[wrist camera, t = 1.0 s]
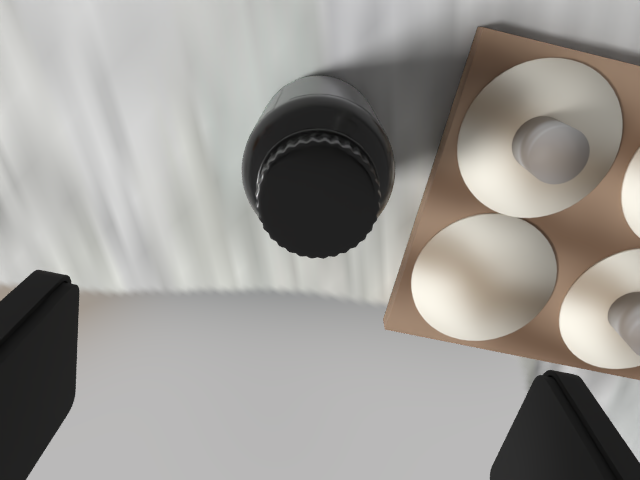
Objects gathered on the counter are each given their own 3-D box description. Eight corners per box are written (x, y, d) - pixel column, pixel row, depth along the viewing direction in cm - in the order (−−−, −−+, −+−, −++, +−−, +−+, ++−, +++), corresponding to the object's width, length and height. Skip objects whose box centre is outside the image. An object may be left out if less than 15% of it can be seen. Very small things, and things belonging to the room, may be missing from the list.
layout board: (477, 26, 28) (501, 29, 24) (814, 109, 29) (886, 125, 26) (383, 319, 36) (389, 357, 32) (654, 373, 37) (691, 416, 33)
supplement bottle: (337, 208, 32) (342, 312, 21) (240, 152, 31) (192, 231, 20) (401, 114, 30) (443, 176, 19) (299, 47, 29) (281, 73, 18)
